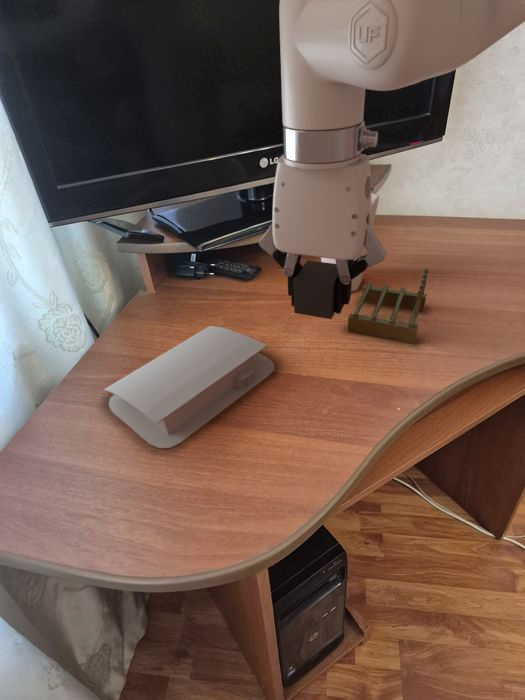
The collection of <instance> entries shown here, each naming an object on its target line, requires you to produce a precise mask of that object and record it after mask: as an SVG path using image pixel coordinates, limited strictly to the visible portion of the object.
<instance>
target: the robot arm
mask: <svg viewBox="0 0 525 700" xmlns="http://www.w3.org/2000/svg"><path fill="white" fill-rule="evenodd" d="M278 6H279V7H278V8H279V9H278V10H279V11H278V13H279V14H278V17H279V46H280V48H279V50H280V79H281V82H280V83H281V84H280V85H281V114H282V144H283V145H282V146H283V147H282V149H283V150H282V151H283V154H282V155H280V157H278V159H277V164H276V169H275V176H274V185H273V195H272V214H271V215H272V216H271V217H272V220H271V221H272V222H271V225H270V226H269V227H268V229H267V230H266V232H265V233H264V234H263V236H262V237H261V239H260V240H259V242H258V245H259V247H260V248H261V249H262V250H263V251H265V252H266V253H267V254H268V255H269V256H272V259H273V260H274V261H275V262H276V263H277V264H278V265H279V266H280V267H281V269H282V270H283V271H282V272H283V274H284V275H285V276H286V277H287V295H288V296H290V297H291V298H290V299H291V300H290V301H291V307H294V278H295V277H296V275H297V274H298V273H299V271H300V270H301V268H302V267H303V266H304V265H302V264H301V263H302V259H303V256H307V257H316V258H321V257H322V258H331V259H335V260H336V264H337V269H338V273H339V277H338V281H337V282H336V285H335V301H334V312H335V313H334V314H339V315H340V314H341V313H342V310H343V308H344V306H345V305H347V306H348V305H349V304H350V301H351V296H352V291H351V285H352V279H354V278H355V277H357V276H358V275H359V274H361V273H362V272H363V273H364V272H365V271H366V270H368V269H369V268H371V267H373V266H375V265H377V264H380V263H382V262H383V261H384V259H385V257H386V255H387V250H386V249H385V248H384V246H383V244H382V243H381V241H380V240H379V238H378V237H377V235H376V234H375V232H374V231H373V229H371V227H370V226H371V193H372V173H371V164H370V163H371V162H370V157H369V155H367V154H365V153H362V152H363V151H364V150H365V149H368V148H376V147H377V144H378V139H379V138H378V137H379V134H378V133H379V131H378V130H377V131H375V130H374V131H373V130H370V129H367V126H365V125H366V123H365V122H366V121H365V120H364V113H365V101H366V90H370V91H378V92H379V91H381V92H385V91H386V92H387V91H396V90H399V89H402V88H403V89H404V88H406V87H409V86H412V85H415V84H418V83H420V82H422V81H425V80H428V79H433V78H436V77H440V76H442V75H443V76H444V75H446V74H448V73H452V72H454V71H456V70H457V69H459V68H461V67H462V66H464V65H466V64H468V63H469V62H471V60H473V59H475V58H476V57H478V56H479V55H481V54H482V53H483V52H485V51H487V49H489V48H491V47H492V46H493V45H494V44H496V43H497V42H499V41H500V40H501V39H503V38H504V37H505V36H507V35H508V34H510V33H511V32H512V31H513V30H515V29H516V28H518V27H519V26H520V25H522V24H524V23H525V0H279V4H278ZM363 245H364V247H365V248H366V250H367V251H368V252H367V254H366V255H363V256H361V257H359V256H360V255H361V252H362V247H363ZM358 257H359V258H358ZM356 258H358V259H357V260H354V259H356Z"/></svg>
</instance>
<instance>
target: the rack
mask: <svg viewBox="0 0 525 700" xmlns="http://www.w3.org/2000/svg"><path fill="white" fill-rule="evenodd" d="M428 274H429V268H427V267H425V268H424V271H423V273H422V278H421V280H420V284H419V287H418V290H417V292H415V291H414V292H413V291H407V290H406V289H407V288H406V287H405V286H402V287H401V288H400V289H394V288H389V287H390V286H389V284H386V283H385V284H384V286H383V287H381V286H374V285H373V283H372V282H371V281H368V282H367V284H364V285H363V287H362V293H361V296H360V298H359V300H358V302H357V305H356V307H355V308H354V310H353V312H352V313H349V315H348V317H347V318H348V319H347V333H353V334H359V335H364V336H369V337H375V338H381V339H386V340H390V341H396V342H402V343H406V344H407V343H408V344H412V345H415V343H416V340H417V336H418V335H417V334H418V329H419V325H418V324H416V319H418V316H419V313H424V310H425V305H426V301H427V294H426V293H425V290H426V284H427V279H428ZM364 303H365V304H371V305H375V306H374V309H373V311H372V314H371V315H370V316H368V315H364V314H363V315H362V314H359V313H360V312H361V309H362V307H363V305H364ZM381 306H383V307H388V308H389V307H390V308H393V310H392V313H391V315H390V318H389V319H387V318H386V319H385V318H381V317H378V315H379V314H378V313H379V312H380V309H381ZM400 309H402V310H408V311H412V312H411V315H410V319H409V322H408V323H407V322H404V321H397V319H396V318H397V316H398V313H399V312H400V311H399V310H400Z"/></svg>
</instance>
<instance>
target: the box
mask: <svg viewBox="0 0 525 700" xmlns="http://www.w3.org/2000/svg"><path fill="white" fill-rule="evenodd" d="M302 266H303V267H302V268H301V270H300V271H299V273H298V274H297V275H296V277H295V278H294V306H293V309H294V310H293V313H294V314H297V315H298V314H299V315H305V316H310V317H316V318H322V319H328V320H332V319H333V317H334V315H335V314H336V313H335V312H334V301H335V285H336V282H337V281H338V277H339V273H338V269H337V264H333V263H325V262H321V261H316V260H306V261H305V262H304V264H303V265H302Z"/></svg>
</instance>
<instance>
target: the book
mask: <svg viewBox="0 0 525 700" xmlns="http://www.w3.org/2000/svg"><path fill="white" fill-rule="evenodd" d="M267 347H268V345H267V344H265V343H263V342H262V341H259V340H257V339H255V338H253V337H251V336H248V335H245V334H242V333H240V332H238V331H234V330H232V329H229V328H225V327H221V326H214V325H209V326H207V327H205V328H204V329H202V330H200V331H199V332H197V333H195V334H194V335H191V336H190V337H188V338H187V339H185V340H184V341H182V342H180V343H178V344H177V345H175V346H174V347H172V348H170V349H169V350H167V351H165V352H163V353H162V354H160V355H158V356H157V357H155V358H153V359H152V360H150V361H148V362H147V363H145V364H143V365H142V366H140V367H138V368H137V369H135V370H134V371H132V372H130V373H129V374H127V375H125V376H123V377H122V378H120V379H119V380H117V381H115V382H113V383H112V384H110V385H108V386H107V387H105V388H104V391H105V392H109V393H111V394H112V396H111V397H110V398H109V402H108V404H107V405H108V408H109V409H110V411H111V412H112V413H113V414H114V415H115V416H116V417H117V418H118V419H119V420H121V421H122V422H123V423H125V425H126V426H128V427H129V429H131V430H132V431H133V432H135V433H136V434H137V435H138V436H139V437H140V438H141V439H143V440H144V441H145V442H146V443H147V444H149V445H151V446H152V447H154V448H158V449H171V448H173V447H175V446H178V445H179V444H181V443H182V442H184V441H185V440H186V439H187V438H189V437H190V436H192V435H193V434H195V432H197V431H198V430H200V429H202V427H204V426H205V425H206V424H207V423H209V422H210V421H211V420H212V419H214V418H216V416H218V415H219V414H221V413H222V412H223V411H225V410H226V409H227V408H228V407H230V406H232V404H234V403H235V402H236V401H237V400H239V399H240V398H242V397H243V396H244V395H246V394H247V393H249V391H251V390H253V388H255V387H256V386H258V385H259V384H260V383H261V382H263V381H264V380H265V379H266V378H268V377H269V376H271V374H272V373H273V372H274V370H275V365H274V361H272V359H270V358H269V357H268V356H265V355H263V354H261V353H260V352H262V351H264V349H266V348H267Z"/></svg>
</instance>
